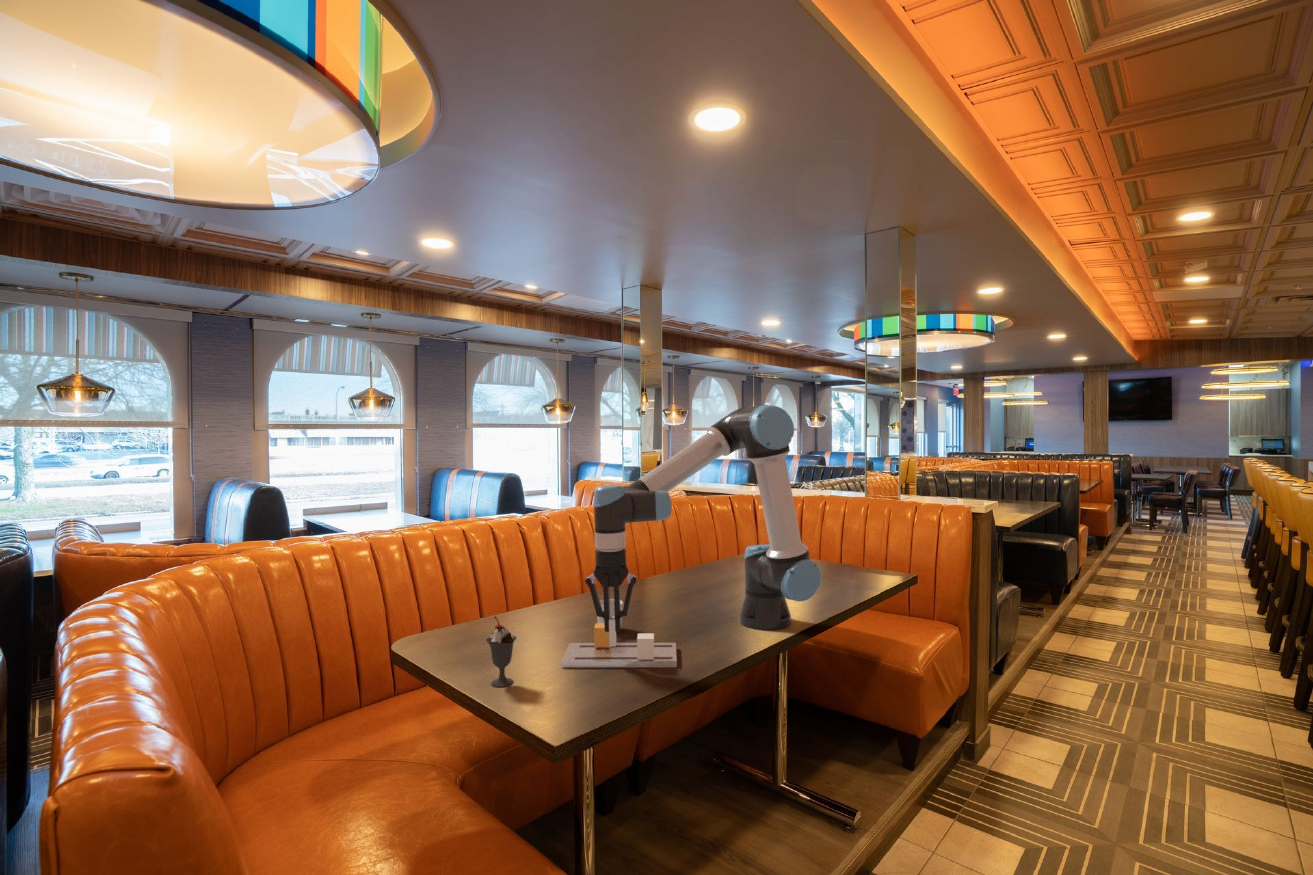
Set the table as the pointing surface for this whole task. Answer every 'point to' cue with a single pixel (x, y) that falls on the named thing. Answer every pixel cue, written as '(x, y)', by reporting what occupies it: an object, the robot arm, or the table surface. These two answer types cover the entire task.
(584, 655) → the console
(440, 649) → the table surface
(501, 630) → the sundae
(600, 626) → the fader
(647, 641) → the block
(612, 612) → the cup
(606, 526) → the robot arm
